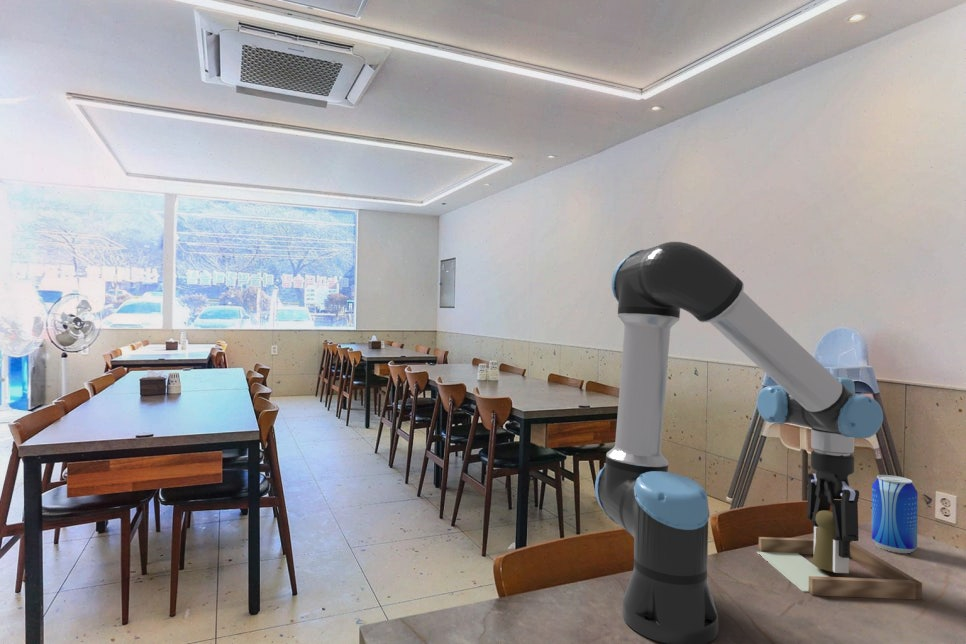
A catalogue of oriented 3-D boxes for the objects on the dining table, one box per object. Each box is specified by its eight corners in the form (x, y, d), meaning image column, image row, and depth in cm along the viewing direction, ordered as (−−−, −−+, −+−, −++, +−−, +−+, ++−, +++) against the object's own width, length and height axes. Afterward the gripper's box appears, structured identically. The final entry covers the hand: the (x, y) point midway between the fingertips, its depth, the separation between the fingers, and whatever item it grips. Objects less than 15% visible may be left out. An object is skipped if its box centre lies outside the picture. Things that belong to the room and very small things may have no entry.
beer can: (877, 538, 131) (878, 472, 131) (921, 549, 125) (921, 479, 125) (866, 546, 126) (867, 477, 126) (911, 558, 119) (912, 485, 120)
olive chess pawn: (852, 574, 107) (853, 518, 108) (819, 570, 108) (820, 515, 109) (839, 561, 113) (840, 509, 113) (807, 558, 114) (808, 506, 115)
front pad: (802, 591, 102) (802, 590, 102) (756, 552, 120) (756, 551, 120) (851, 593, 102) (851, 592, 102) (797, 554, 120) (797, 553, 120)
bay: (812, 595, 101) (812, 579, 101) (758, 550, 122) (758, 536, 122) (922, 599, 100) (922, 583, 100) (849, 553, 121) (849, 540, 121)
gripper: (883, 463, 102) (881, 587, 101) (823, 443, 121) (821, 547, 120) (842, 461, 102) (840, 585, 102) (789, 442, 121) (787, 546, 120)
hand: (830, 564), depth 111 cm, fingers closed on olive chess pawn, 6 cm apart
